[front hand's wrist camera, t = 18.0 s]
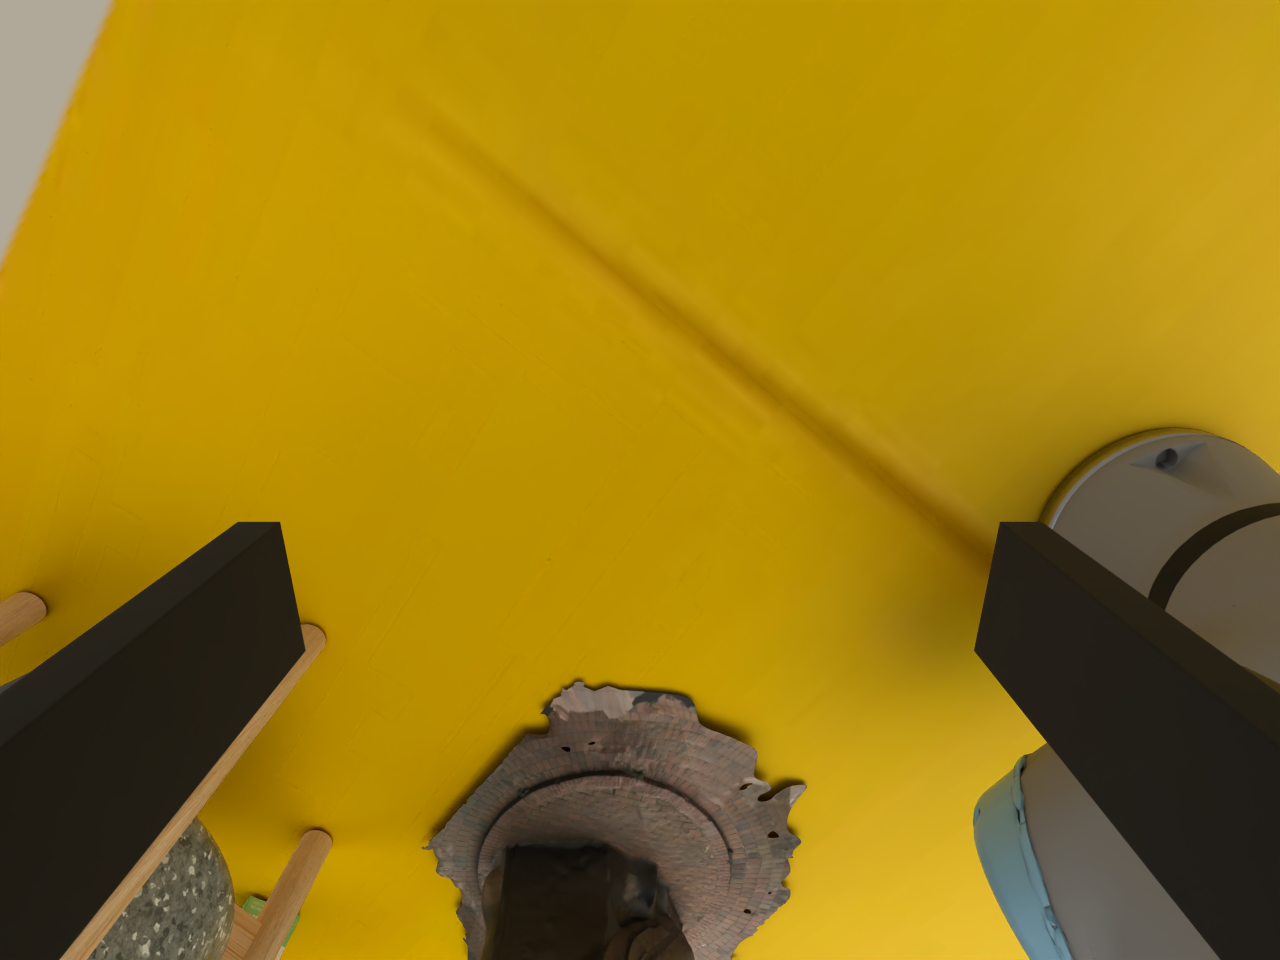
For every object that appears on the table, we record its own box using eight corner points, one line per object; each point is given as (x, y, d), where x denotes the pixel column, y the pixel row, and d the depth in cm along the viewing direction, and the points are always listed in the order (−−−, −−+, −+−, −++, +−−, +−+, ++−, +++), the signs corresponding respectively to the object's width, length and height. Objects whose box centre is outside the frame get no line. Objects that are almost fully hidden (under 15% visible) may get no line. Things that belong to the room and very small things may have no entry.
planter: (326, 625, 49) (-167, 1244, 19) (333, 852, 57) (-12, 1550, 27) (8, 589, 48) (-1040, 1183, 18) (59, 825, 56) (-619, 1519, 26)
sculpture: (325, 829, 56) (210, 1047, 41) (675, 618, 49) (690, 788, 34) (566, 1041, 65) (544, 1282, 50) (889, 889, 58) (975, 1116, 43)
